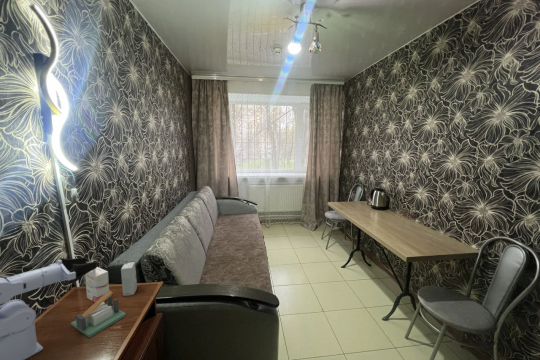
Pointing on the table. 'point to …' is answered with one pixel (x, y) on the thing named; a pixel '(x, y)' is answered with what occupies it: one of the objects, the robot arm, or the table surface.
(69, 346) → the table surface
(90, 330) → the board
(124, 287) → the skincare box
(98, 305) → the strap
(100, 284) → the ink cartridge box
